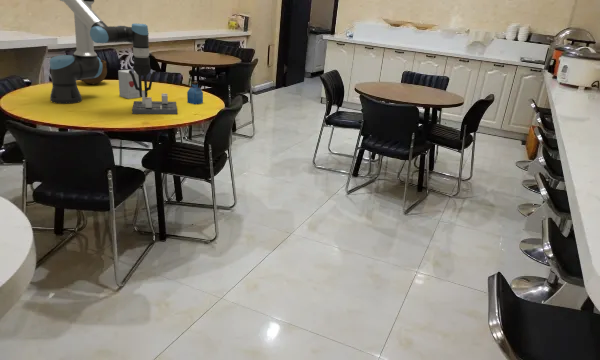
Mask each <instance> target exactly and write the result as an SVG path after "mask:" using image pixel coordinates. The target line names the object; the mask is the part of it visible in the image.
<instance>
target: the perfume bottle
mask: <svg viewBox="0 0 600 360" xmlns="http://www.w3.org/2000/svg"><path fill="white" fill-rule="evenodd" d="M191 83H192V84H191V87H190V88H189V89H188V90H187V92H186V93H187V94H186V95H187V96H186V97H187V101H186V102H187V104H192V105H200V104H203V103H204V92H203V90H202V89H201V87H199V84H198V83H199V82H198V81H192V82H191Z"/></svg>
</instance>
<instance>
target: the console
mask: <svg viewBox="0 0 600 360" xmlns="http://www.w3.org/2000/svg"><path fill="white" fill-rule="evenodd" d="M131 111H132V112H131V113H132V115H178V106H177V102H176V101H170V100H169V101H168V104H162V100H161V101H153V100H152V108H146V104H142V100H134V101H133V105H132V109H131Z"/></svg>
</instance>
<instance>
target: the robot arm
mask: <svg viewBox="0 0 600 360" xmlns="http://www.w3.org/2000/svg"><path fill="white" fill-rule="evenodd" d="M59 1H60V2H64V4H65V5H66V6H67V7H68V8H69V9H70V11H72V13H73V16H74V17H73V18H74V30H75V31H74V32H75V34H74V35H75V43H76V44H75V45H76V46H75V48H76V50H75V51H74V52H73V55H72V54H66V55H65V54H64V55H63V54H61V55H56V56H53V57H51V58H50V59H49V69H50V76H51V77H50V78H51V84H52V87H51V92H50V97H49V99H50V102H51V101H52V102H51V103H54V102H55V103H56V104H63V105H65V104H76V103H80V102H82V101H83V99H82V94H81V92H80V89H79V88H78V86H77V85H78V84H77V81H79V80H80V79H92V78H96V77H98V76H99V75H100V74H101V72H102V62H101V60H102V59H100V57H99V56H98V53H96V51H95V48H94V43H95V44H110V43H111V44H112V43H113V44H114V43H128V44H129V43H131V44H132V53H133V54H132V55H133V67H132V69H128V70H129V73H130V75H131V76H132V79H133V83H134V86H135V89H136V90H139V93H140V97H139V98H141V101H142V104H145V97H149V96H148V94H149V93H148V91H150V90H152V84H153V80H154V76H155V75H156V70H153V69H152V68H151V64H150V63H151V62H150V60H151V59H150V57H149V56H150V44H149V43H150V40H149V28H148V25H147V24H146V23H132V24H131V26H126V25H117V26H115V25H114V26H111V25H110V26H109V25H107V24H106V23H105V22H104V20H102V19H101V17H100V16H99V15H98V14H97V13H96V12H95V11H94V10H93V9H92V5H93V4H94V3H95V0H59ZM134 71H135V72H136V73H137V75H138V77H139V87H138V86H137V82H136V79H135V76H134ZM149 73H150V79H149V83H148V79H147V76H148V75H149ZM142 76H143V83H142ZM80 81H81V80H80ZM143 85H144V86H143ZM143 89H144V90H143ZM55 103H54V104H55Z"/></svg>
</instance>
